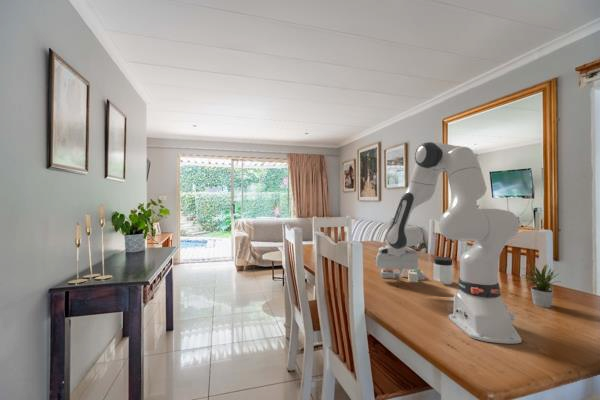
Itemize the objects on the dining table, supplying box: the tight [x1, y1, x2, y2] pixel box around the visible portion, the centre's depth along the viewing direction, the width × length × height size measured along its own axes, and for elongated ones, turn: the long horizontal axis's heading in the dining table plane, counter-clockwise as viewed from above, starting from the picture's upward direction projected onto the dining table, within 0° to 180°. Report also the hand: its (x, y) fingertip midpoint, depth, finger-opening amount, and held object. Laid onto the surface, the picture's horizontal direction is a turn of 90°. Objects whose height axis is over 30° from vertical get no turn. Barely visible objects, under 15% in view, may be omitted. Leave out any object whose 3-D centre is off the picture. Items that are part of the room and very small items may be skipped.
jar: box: [433, 256, 454, 286], centre depth 142 cm, size 9×8×12 cm
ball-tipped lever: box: [400, 269, 408, 278], centre depth 147 cm, size 2×2×7 cm
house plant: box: [519, 263, 561, 308], centre depth 113 cm, size 14×14×16 cm
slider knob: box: [407, 271, 419, 283], centre depth 140 cm, size 4×4×4 cm
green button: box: [411, 267, 421, 274], centre depth 146 cm, size 4×4×4 cm
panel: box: [380, 268, 426, 281], centre depth 145 cm, size 14×22×4 cm, turn 77°
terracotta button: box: [383, 268, 392, 272], centre depth 149 cm, size 4×4×4 cm
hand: (396, 277), depth 142 cm, fingers closed
